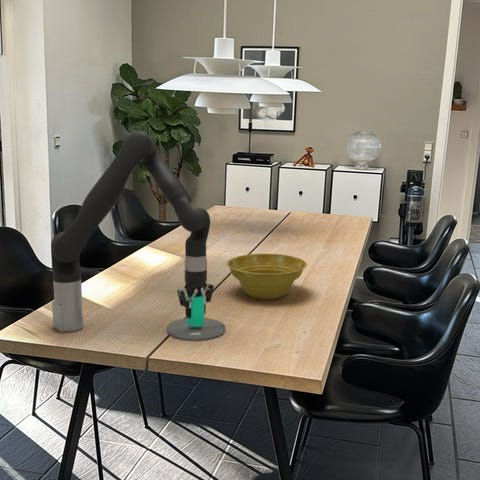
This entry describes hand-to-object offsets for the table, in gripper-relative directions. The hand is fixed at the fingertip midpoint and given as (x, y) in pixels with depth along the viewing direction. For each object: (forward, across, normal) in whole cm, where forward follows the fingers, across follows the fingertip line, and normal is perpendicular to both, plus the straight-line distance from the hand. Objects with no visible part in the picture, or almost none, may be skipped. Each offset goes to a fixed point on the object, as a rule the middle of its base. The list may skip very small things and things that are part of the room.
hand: (195, 315), depth 230 cm
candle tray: (+5, 0, 0) cm, 5 cm away
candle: (+3, 0, 0) cm, 3 cm away
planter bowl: (+5, +47, +17) cm, 50 cm away
